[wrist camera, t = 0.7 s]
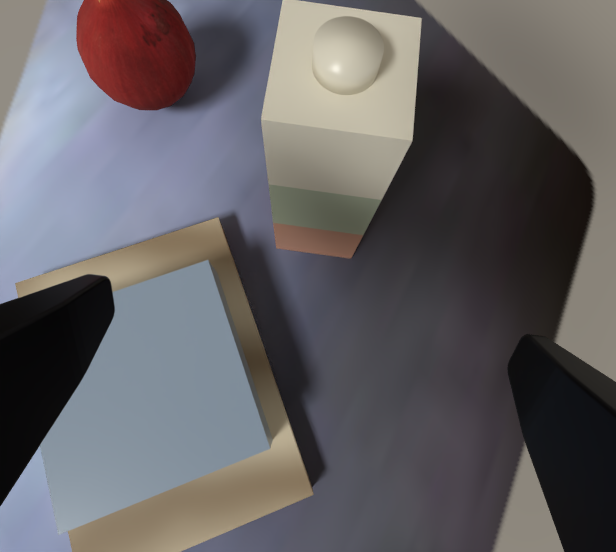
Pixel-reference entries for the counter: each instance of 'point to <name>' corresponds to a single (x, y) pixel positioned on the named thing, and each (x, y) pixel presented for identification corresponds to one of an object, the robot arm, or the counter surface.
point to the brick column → (336, 120)
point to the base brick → (155, 401)
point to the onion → (136, 51)
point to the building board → (224, 482)
